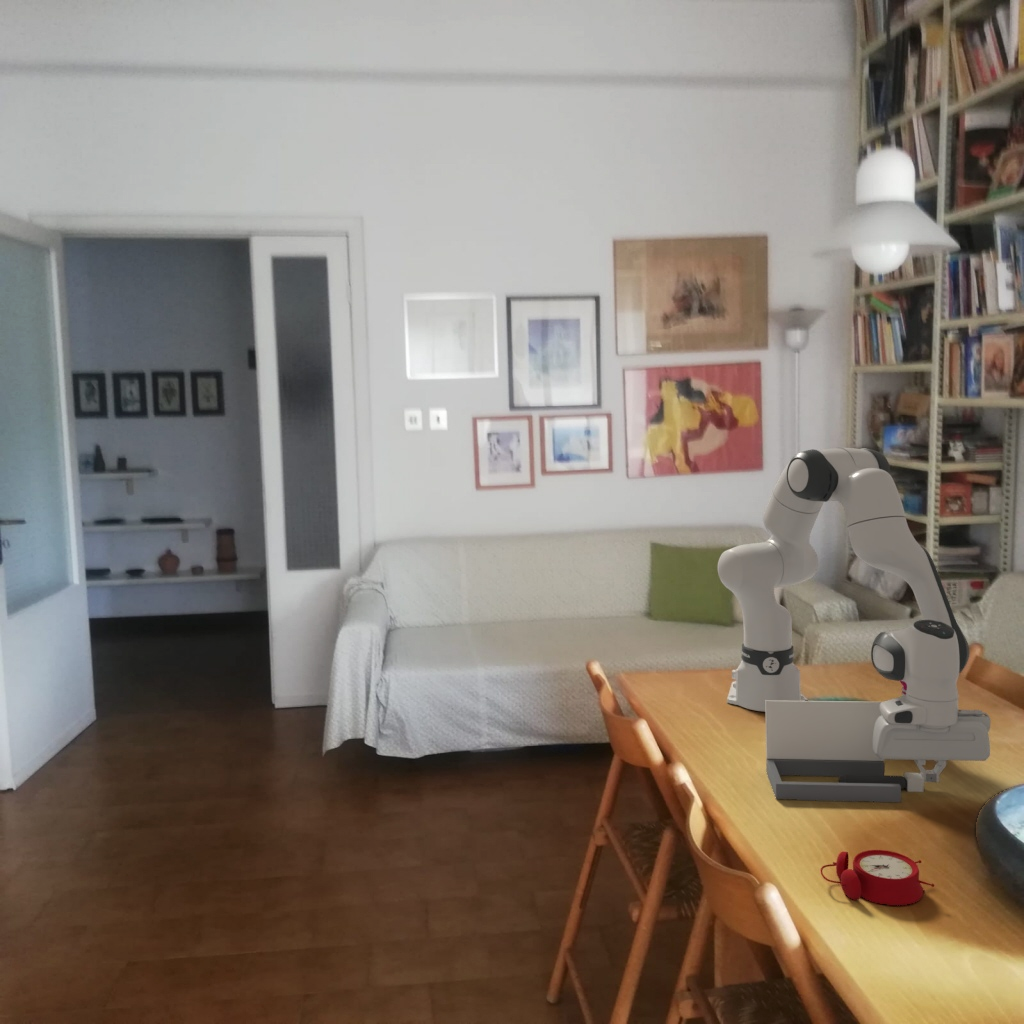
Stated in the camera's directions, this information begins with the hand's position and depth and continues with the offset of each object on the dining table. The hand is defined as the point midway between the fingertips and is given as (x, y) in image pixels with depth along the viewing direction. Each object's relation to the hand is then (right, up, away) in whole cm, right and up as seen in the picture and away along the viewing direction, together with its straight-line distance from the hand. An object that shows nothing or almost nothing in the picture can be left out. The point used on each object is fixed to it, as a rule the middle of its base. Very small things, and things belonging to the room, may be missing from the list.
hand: (929, 780), depth 177 cm
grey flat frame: (-18, -2, +2) cm, 18 cm away
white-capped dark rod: (-9, -2, +1) cm, 9 cm away
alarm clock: (-23, -7, -34) cm, 41 cm away
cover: (-17, +8, +8) cm, 20 cm away
